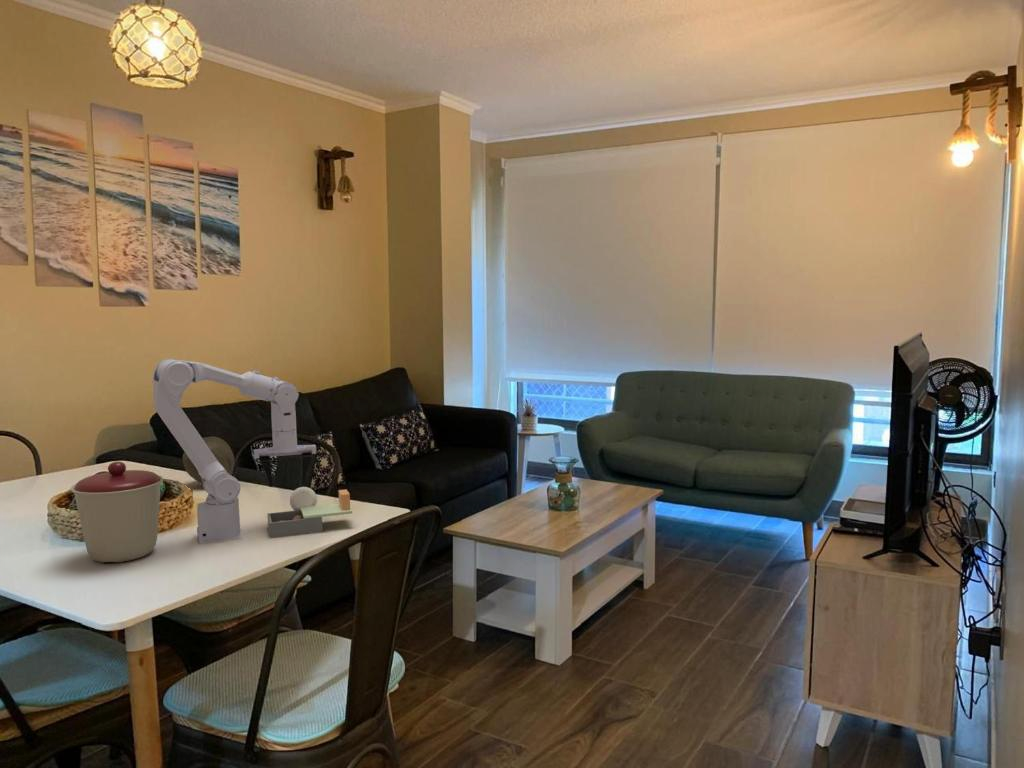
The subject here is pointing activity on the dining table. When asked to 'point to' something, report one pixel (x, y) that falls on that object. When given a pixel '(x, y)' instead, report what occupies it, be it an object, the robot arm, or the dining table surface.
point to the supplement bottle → (302, 498)
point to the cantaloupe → (220, 453)
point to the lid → (329, 507)
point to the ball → (298, 517)
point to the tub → (292, 524)
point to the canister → (119, 513)
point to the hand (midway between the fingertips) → (287, 484)
